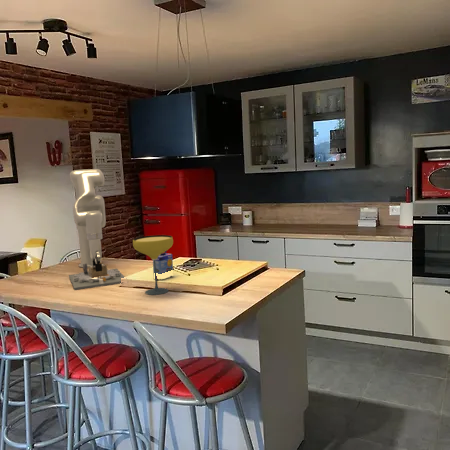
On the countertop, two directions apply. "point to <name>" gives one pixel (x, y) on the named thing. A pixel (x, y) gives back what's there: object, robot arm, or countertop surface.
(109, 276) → the sprocket
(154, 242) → the cocktail glass
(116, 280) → the sprocket base
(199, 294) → the countertop surface
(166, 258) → the ink cartridge box
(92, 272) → the brown rectangular block
